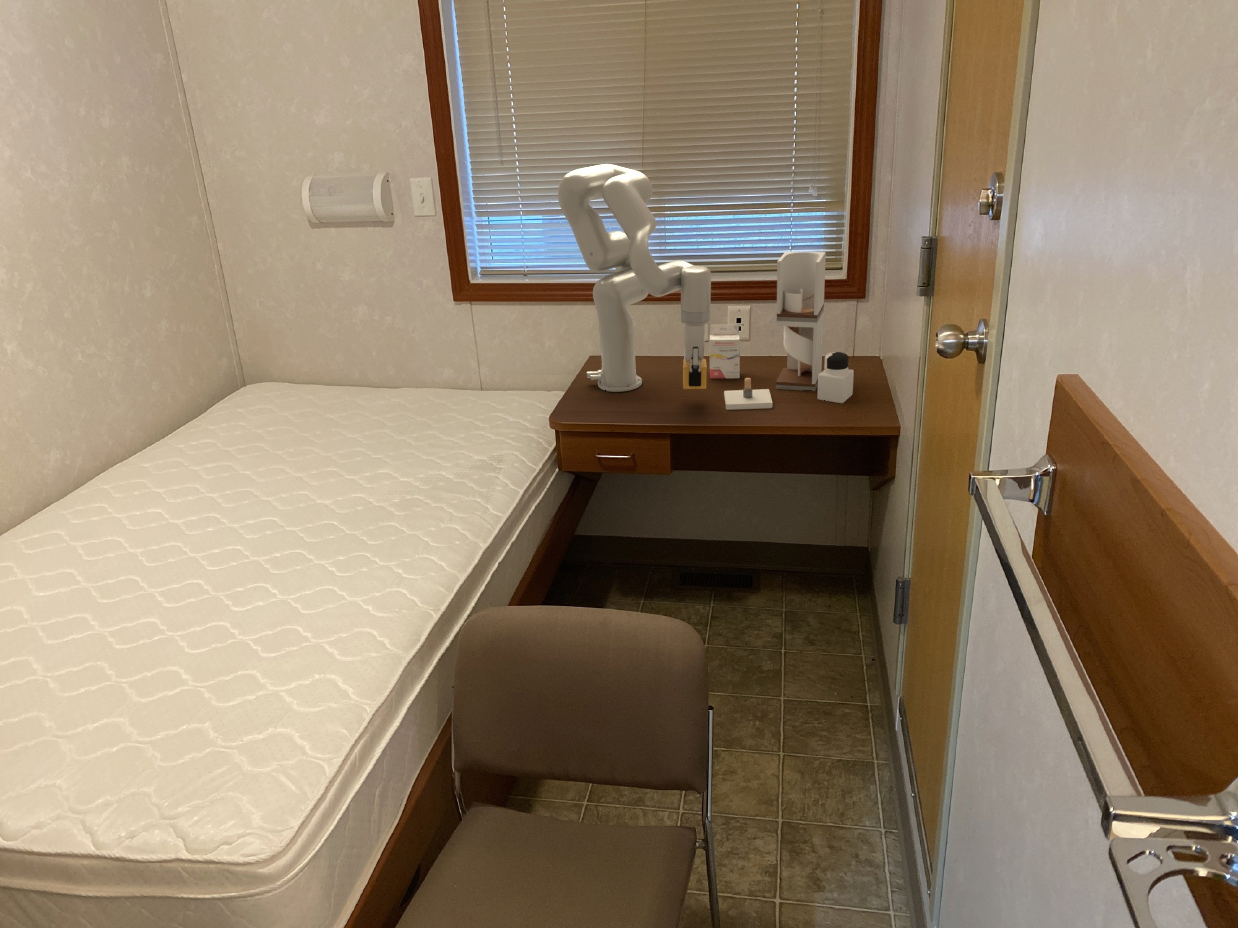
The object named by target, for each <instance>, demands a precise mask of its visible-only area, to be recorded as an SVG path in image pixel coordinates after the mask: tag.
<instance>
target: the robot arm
mask: <svg viewBox="0 0 1238 928" xmlns="http://www.w3.org/2000/svg"><path fill="white" fill-rule="evenodd" d="M652 196H653V185H652V183H651V180H650V179H649V177H648V176H647V175H646V174H644V173H643V172H641V171H638V170H636V169H632V168H631V169H630V168H626V167H623V166H619V165H616V164H612V163H611V164H610V163H604V164H603V163H601V164H597V165H593V166H592V165H591V166H588V167H582V168H577V169H574V170H572V171H570V172H568V173H566V174H565V175H563V177H562V179H561V180H560V182H559V185H558V189H557V199H558V200H557V201H558V203H559V206H560V210H561V211H562V213H563V215H564V217H565V219H566V220H567V222H568V224H569V226H570V229H571V230H572V233H573V236H574V238H575V241H576V243H577V247H578V248H579V251H580V253H581V255H582V259H583V260H584V263H585V265H586V267H587V268H588V269H589V270H590V271H591V272H594V273H602V272H607V271H609V270H612V269H615V272H613V273H610V274H608V275H605V276H603V277H601V278H600V279H598V280H597V281H596V282H595V283H594V286H593V289H592V299H593V301H594V305H595V309H596V314H597V322H598V331H599V342H600V355H601V356H600V358H601V369H598V370H596V371H590V370H589V371H586V378H587V379H590V381H597V386H598V388H599V389H600V390H602V391H605V390H606V391H605V392H613V393H619V392H620V393H621V392H628V391H633V390H635V389H638V388H639V387H641V385H642V384H643V379H642V378H641V377H640V376H639V375H637V370H636V369H637V367H636V353H635V352H636V351H635V333H634V323H633V319H632V316H631V315H630V312H629V311H628V307H629V306H630V305H633V304H636V303H638V302H641V301H643V300H644V299H646V298H647V297H648V295H651V296H653V297H658V298H659V297H663V296H666V295H667V296H668V295H669V294H672V293H675V292H679V291H680V322H681V324H683V325H684V329H683V330H684V331H683V335H684V337H683V357H684V358H683V359H684V360H685V361H686V362H687V361H690V371H689V386H701V371H700V370H701V362H702V361H703V359H704V355H705V345H706V325H707V324H709V323H710V322H711V303H712V302H711V299H712V298H711V295H712V293H711V292H712V272H711V270H710V269H709V268H708V267H706V266H703V265H694V264H692V263H690V262H687V261H686V260H685V261H684V260H681V259H675V260H672V261H668V262H666V263H662V264H659V265H657V263H656V261H655V259H654V258H653V257H652V254H651V252H650V249H649V238H650V237H651V235H652V234H653V233H654V232H655V230H656V228H657V224H658V223H657V220H656V218H655V217H654V214H653V212H651V210H650V209H649V207H648V205H647V204H646V203H648V202H649V201H650V199H651V198H652ZM599 199H603V201H604V203H605V204H606V205H607V207H608V209H609V211H610V213H611V214H612V215H613V217H614V218H615V220H616V221H617V223H618V226H620V228H621V229H622V231H621V230H614V231H610V232H608V231H607V229H606V227H605V224H604V221H603V219H602V217H601V216H600V214H599V213H598V211H597V210H596V209H595V208H594V207H593V206H592V205H591V204H589V202H591V201H594V200H599ZM691 359H693V360H691ZM698 359H699V360H698ZM692 363H693V365H692Z"/></svg>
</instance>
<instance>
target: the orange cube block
mask: <svg viewBox="0 0 1238 928" xmlns="http://www.w3.org/2000/svg"><path fill="white" fill-rule="evenodd" d="M691 360H693V359H691ZM698 360H699V359H698ZM682 362H683V363H682V364H683V365H682V368H683V369H682V370H683V371H682V372H683V373H682V374H683V375H682V385H683V387H682V388H683V390H706V389H707V379H708V378H707V373H708V372H707V370H708V369H707V367H708V366H707V359H706V358H703V361H702V362H701V370H700V371H701V386H689V371H690V361H687V362H686V361H685V360H684V358H683V360H682ZM692 365H693V363H692Z"/></svg>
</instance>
